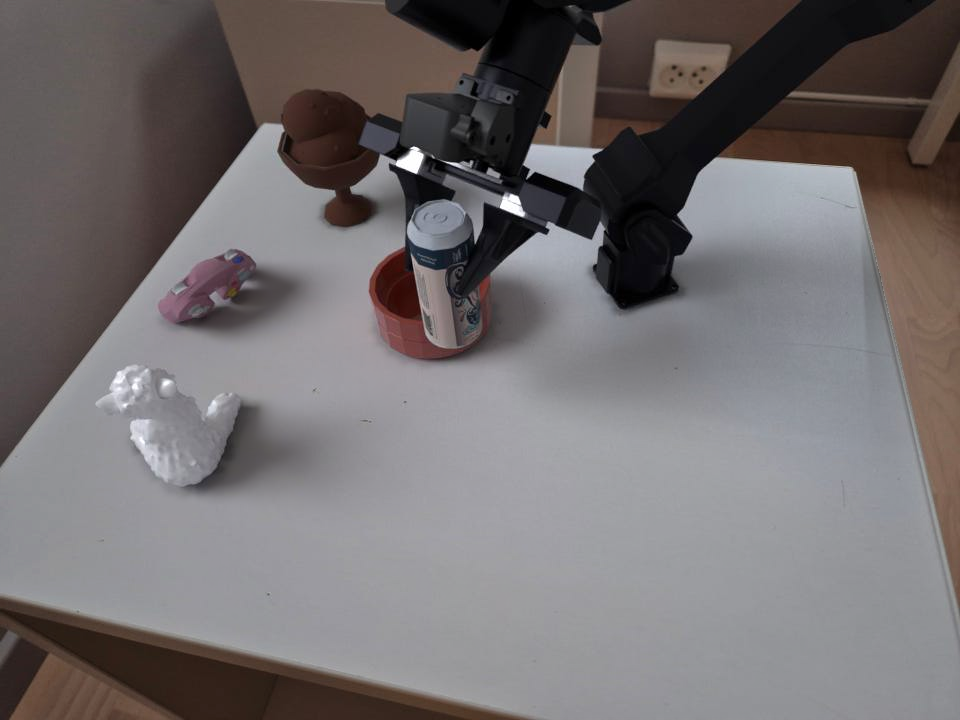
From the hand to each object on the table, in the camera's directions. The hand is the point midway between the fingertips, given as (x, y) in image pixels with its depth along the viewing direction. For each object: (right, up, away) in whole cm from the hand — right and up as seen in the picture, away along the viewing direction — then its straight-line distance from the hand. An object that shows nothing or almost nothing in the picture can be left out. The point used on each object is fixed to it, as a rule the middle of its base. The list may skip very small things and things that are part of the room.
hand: (434, 283), depth 57 cm
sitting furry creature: (-21, -14, +8) cm, 26 cm away
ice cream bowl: (-12, +11, +28) cm, 32 cm away
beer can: (+1, -4, +6) cm, 7 cm away
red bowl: (-1, -2, +16) cm, 16 cm away
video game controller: (-23, 0, +20) cm, 31 cm away
